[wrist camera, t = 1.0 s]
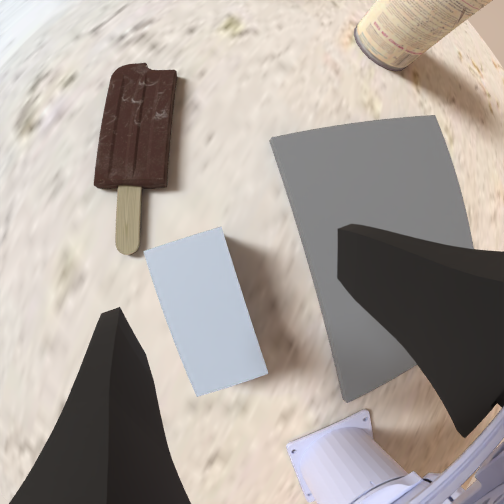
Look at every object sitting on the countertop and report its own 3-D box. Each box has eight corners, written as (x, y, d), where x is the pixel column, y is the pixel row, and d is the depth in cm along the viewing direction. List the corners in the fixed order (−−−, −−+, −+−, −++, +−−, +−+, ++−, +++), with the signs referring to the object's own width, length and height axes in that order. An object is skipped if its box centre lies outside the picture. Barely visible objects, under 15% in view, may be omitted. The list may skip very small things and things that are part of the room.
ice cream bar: (165, 254, 21) (178, 71, 21) (162, 255, 20) (177, 60, 20) (96, 254, 20) (117, 74, 20) (89, 254, 19) (113, 64, 19)
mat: (476, 317, 26) (481, 318, 25) (343, 399, 23) (347, 403, 22) (430, 117, 25) (434, 115, 24) (269, 141, 22) (271, 137, 21)
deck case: (254, 348, 22) (268, 373, 17) (197, 367, 21) (196, 396, 16) (216, 232, 22) (221, 226, 17) (156, 251, 21) (143, 251, 16)
